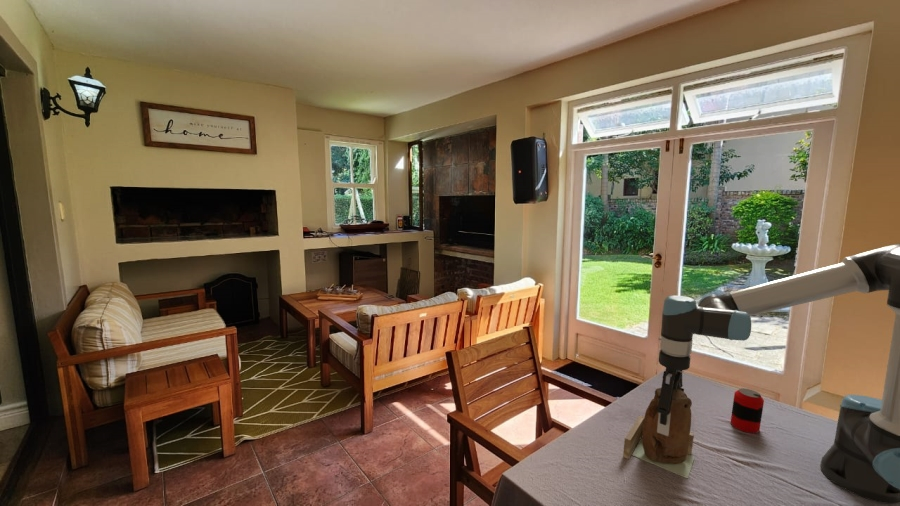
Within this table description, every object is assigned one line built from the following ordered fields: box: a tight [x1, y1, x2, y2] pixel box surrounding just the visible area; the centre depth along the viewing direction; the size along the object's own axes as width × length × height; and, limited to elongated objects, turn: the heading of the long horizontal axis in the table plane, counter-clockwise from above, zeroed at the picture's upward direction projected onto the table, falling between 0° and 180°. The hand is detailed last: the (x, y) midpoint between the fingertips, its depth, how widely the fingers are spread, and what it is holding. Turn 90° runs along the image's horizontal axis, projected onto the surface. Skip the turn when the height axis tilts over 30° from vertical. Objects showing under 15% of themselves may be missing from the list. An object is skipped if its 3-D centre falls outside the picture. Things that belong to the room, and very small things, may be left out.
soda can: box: [730, 387, 765, 434], centre depth 125 cm, size 8×8×12 cm
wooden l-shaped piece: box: [622, 415, 695, 460], centre depth 111 cm, size 15×16×6 cm
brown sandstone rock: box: [641, 387, 693, 464], centre depth 109 cm, size 11×8×20 cm
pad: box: [631, 436, 695, 479], centre depth 111 cm, size 14×11×1 cm
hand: (668, 422), depth 109 cm, fingers open, 13 cm apart
